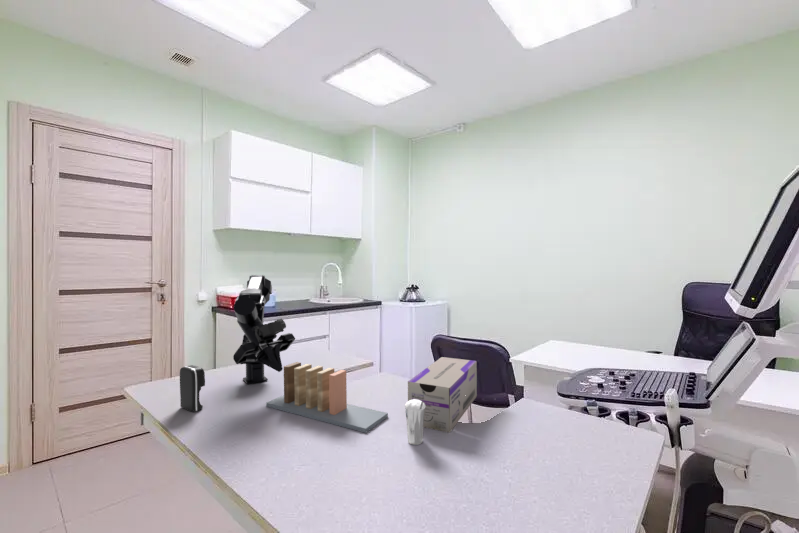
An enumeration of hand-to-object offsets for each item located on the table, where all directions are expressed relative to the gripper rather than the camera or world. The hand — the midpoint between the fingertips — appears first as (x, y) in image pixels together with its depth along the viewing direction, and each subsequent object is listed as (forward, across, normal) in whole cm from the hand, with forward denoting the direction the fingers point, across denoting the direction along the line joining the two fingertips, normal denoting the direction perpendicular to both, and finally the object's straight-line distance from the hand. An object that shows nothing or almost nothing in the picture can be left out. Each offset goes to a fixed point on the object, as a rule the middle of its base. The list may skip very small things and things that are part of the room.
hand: (280, 370), depth 108 cm
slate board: (+17, 0, -5) cm, 18 cm away
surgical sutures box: (+37, +17, -24) cm, 47 cm away
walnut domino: (+9, 0, +2) cm, 9 cm away
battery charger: (-6, -15, +18) cm, 25 cm away
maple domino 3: (+17, 0, -6) cm, 18 cm away
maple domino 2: (+14, 0, -4) cm, 15 cm away
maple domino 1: (+11, 0, -1) cm, 11 cm away
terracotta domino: (+20, 0, -9) cm, 22 cm away
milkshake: (+38, -3, -26) cm, 46 cm away
